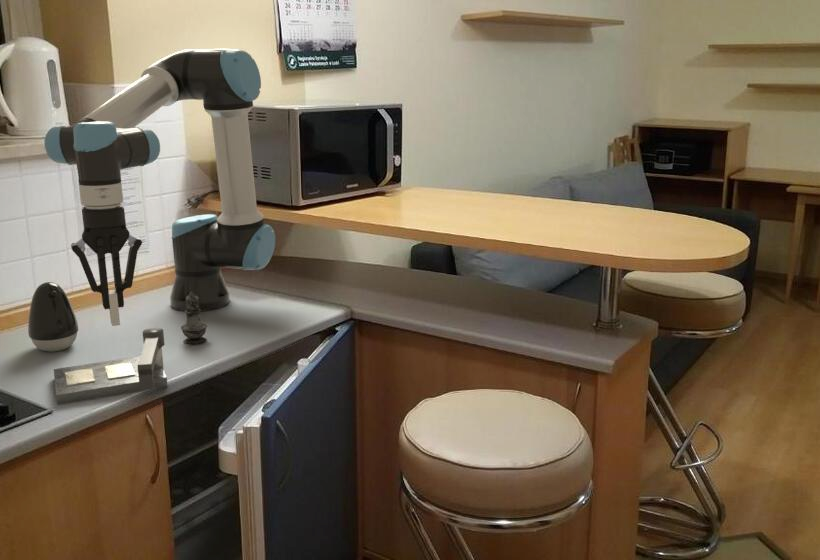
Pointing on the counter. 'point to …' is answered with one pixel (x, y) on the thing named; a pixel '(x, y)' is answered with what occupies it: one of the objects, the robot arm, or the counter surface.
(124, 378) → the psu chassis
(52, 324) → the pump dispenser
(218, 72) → the robot arm
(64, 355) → the counter surface
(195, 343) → the grey chess piece
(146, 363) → the lever
